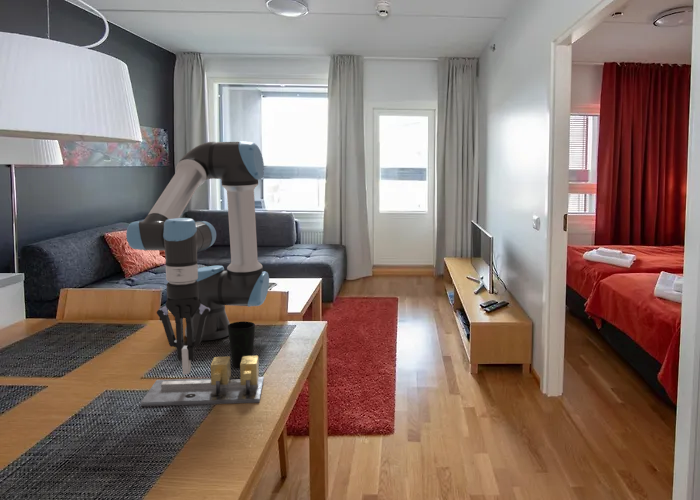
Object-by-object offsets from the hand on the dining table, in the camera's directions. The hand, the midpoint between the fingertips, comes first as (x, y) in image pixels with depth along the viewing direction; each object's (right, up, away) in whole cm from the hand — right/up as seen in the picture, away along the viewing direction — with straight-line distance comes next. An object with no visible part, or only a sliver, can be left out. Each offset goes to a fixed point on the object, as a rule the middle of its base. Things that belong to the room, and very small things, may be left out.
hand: (186, 371), depth 138 cm
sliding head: (+9, -4, -1) cm, 10 cm away
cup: (+10, -3, +19) cm, 22 cm away
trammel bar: (+6, -4, -1) cm, 7 cm away
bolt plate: (+5, -5, 0) cm, 7 cm away
